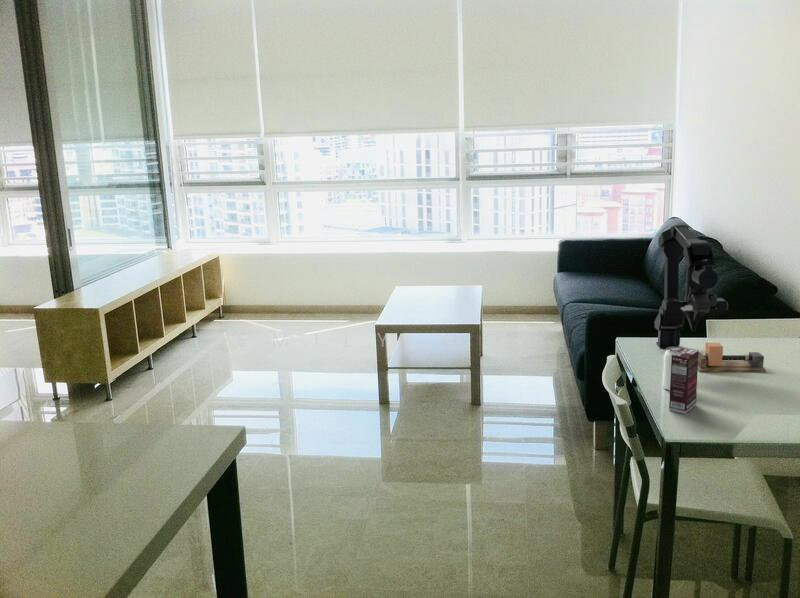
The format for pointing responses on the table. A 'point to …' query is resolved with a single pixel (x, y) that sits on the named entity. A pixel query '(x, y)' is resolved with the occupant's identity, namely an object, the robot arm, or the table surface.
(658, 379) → the table surface
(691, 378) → the supplement box
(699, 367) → the comb rail
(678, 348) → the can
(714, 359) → the sleeve
